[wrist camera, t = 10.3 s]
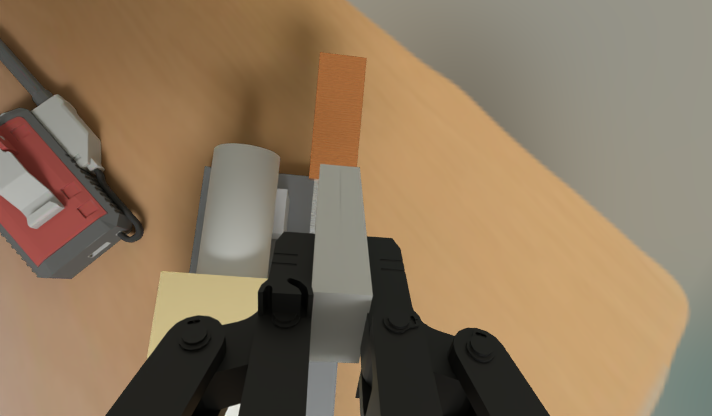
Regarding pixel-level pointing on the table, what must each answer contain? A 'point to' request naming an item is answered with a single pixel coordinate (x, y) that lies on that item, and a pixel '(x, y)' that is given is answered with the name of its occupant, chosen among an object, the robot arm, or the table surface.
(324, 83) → the valve lever
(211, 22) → the table surface
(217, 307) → the valve rig
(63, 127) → the walkie-talkie
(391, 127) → the table surface
